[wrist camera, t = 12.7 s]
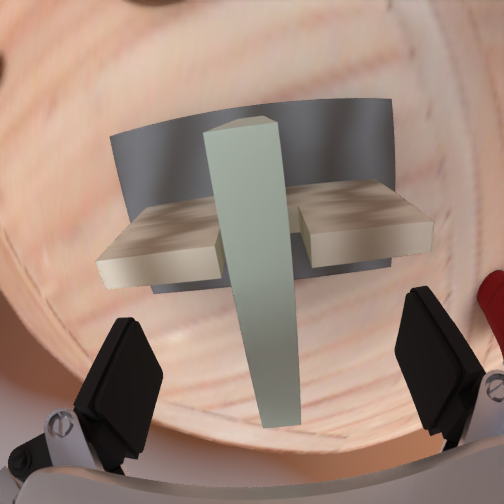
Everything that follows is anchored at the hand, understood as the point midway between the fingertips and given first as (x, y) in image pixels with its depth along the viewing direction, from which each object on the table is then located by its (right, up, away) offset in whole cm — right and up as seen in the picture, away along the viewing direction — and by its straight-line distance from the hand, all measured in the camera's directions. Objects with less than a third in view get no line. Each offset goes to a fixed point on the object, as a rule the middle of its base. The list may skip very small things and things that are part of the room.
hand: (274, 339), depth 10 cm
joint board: (0, +8, +16) cm, 18 cm away
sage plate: (0, +7, +15) cm, 17 cm away
